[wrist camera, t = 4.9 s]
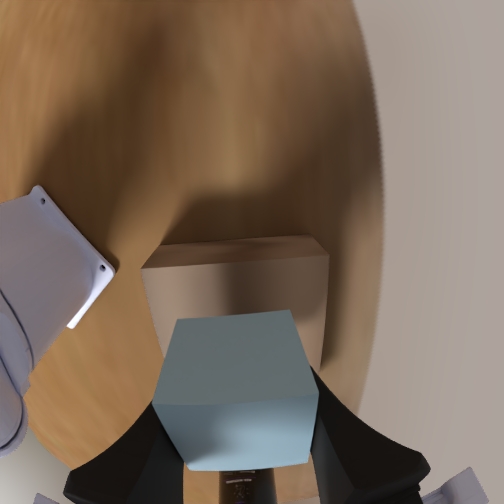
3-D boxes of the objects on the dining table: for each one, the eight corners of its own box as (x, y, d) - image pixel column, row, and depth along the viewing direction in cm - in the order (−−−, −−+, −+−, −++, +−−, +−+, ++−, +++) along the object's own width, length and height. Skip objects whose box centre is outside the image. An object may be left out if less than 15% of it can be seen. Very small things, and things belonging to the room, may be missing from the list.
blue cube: (197, 393, 13) (189, 470, 8) (177, 318, 12) (151, 403, 7) (289, 386, 13) (307, 462, 9) (289, 309, 12) (319, 393, 7)
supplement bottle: (238, 444, 26) (243, 532, 14) (282, 455, 27) (295, 532, 16) (209, 462, 27) (207, 538, 16) (250, 473, 29) (256, 541, 18)
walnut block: (193, 392, 22) (188, 426, 18) (158, 245, 17) (140, 268, 14) (302, 384, 22) (312, 417, 19) (310, 234, 18) (329, 254, 14)
